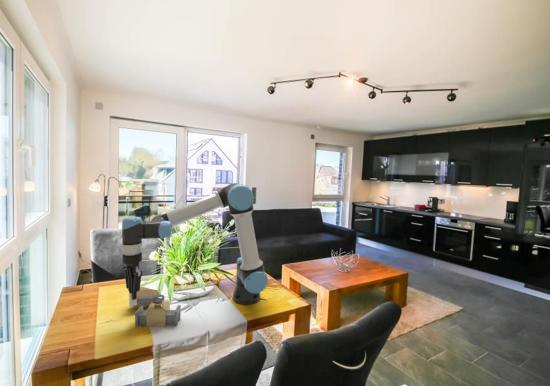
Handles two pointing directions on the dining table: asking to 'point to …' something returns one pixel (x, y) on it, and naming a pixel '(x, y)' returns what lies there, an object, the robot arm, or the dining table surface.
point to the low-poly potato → (145, 292)
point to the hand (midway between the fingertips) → (133, 305)
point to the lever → (150, 299)
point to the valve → (157, 315)
